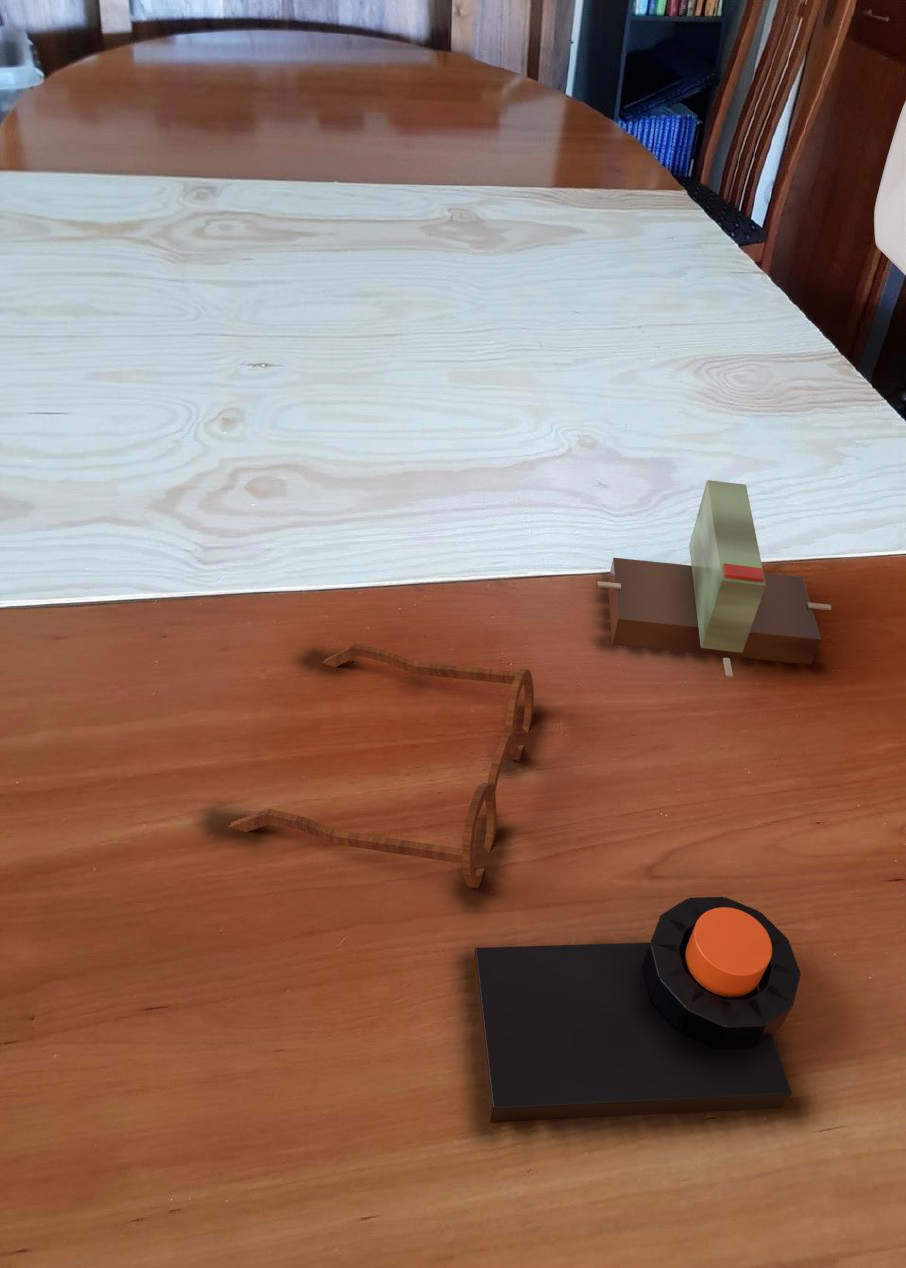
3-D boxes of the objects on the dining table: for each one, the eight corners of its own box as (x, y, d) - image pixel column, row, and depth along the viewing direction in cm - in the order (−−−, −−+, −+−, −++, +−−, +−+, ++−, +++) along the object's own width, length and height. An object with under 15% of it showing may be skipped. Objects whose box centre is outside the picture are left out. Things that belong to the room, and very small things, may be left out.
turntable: (795, 575, 72) (809, 537, 70) (838, 726, 61) (856, 687, 59) (586, 554, 72) (594, 515, 70) (593, 702, 61) (602, 661, 59)
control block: (749, 944, 50) (772, 894, 47) (806, 1117, 44) (836, 1070, 41) (468, 953, 48) (476, 902, 45) (487, 1133, 42) (497, 1086, 39)
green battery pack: (688, 545, 68) (707, 476, 65) (726, 549, 68) (747, 480, 65) (700, 648, 61) (722, 576, 57) (742, 653, 61) (767, 581, 57)
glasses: (475, 912, 50) (485, 847, 46) (218, 838, 52) (210, 771, 49) (534, 721, 59) (547, 656, 56) (316, 666, 61) (315, 599, 58)
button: (748, 929, 46) (759, 905, 45) (770, 996, 44) (783, 973, 42) (676, 931, 46) (685, 907, 44) (695, 999, 43) (705, 976, 42)
